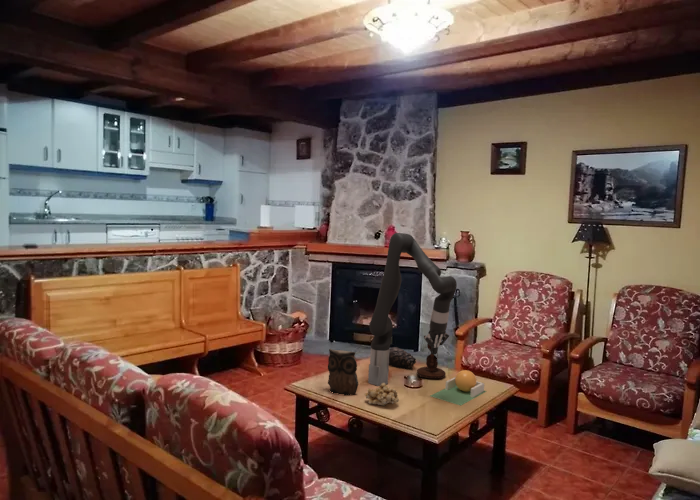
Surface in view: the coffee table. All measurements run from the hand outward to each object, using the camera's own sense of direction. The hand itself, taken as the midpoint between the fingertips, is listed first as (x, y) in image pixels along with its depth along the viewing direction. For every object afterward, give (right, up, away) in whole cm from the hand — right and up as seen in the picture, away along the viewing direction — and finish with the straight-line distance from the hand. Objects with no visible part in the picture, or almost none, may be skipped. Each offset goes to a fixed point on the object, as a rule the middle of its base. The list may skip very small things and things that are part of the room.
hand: (433, 353), depth 236 cm
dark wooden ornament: (+4, -19, +32) cm, 38 cm away
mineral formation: (-24, -21, -8) cm, 33 cm away
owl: (-41, -19, +6) cm, 45 cm away
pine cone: (-10, -17, +48) cm, 52 cm away
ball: (+17, -15, +11) cm, 25 cm away
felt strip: (+13, -21, +8) cm, 26 cm away
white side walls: (+17, -20, +12) cm, 29 cm away
